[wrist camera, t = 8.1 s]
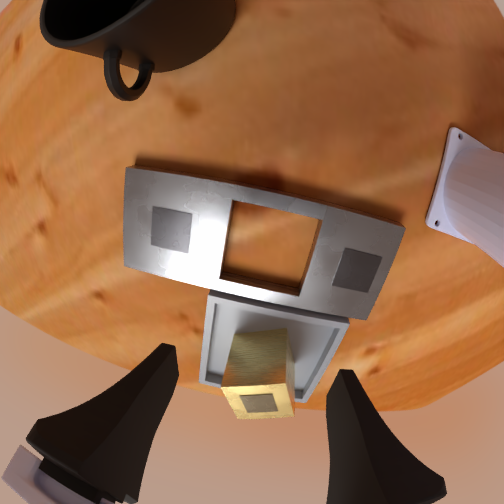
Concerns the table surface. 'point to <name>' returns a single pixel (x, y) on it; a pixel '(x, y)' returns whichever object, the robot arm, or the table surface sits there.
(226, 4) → the mug
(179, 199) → the metal plate with cutout
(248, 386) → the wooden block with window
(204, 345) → the parts tray
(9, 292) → the table surface
